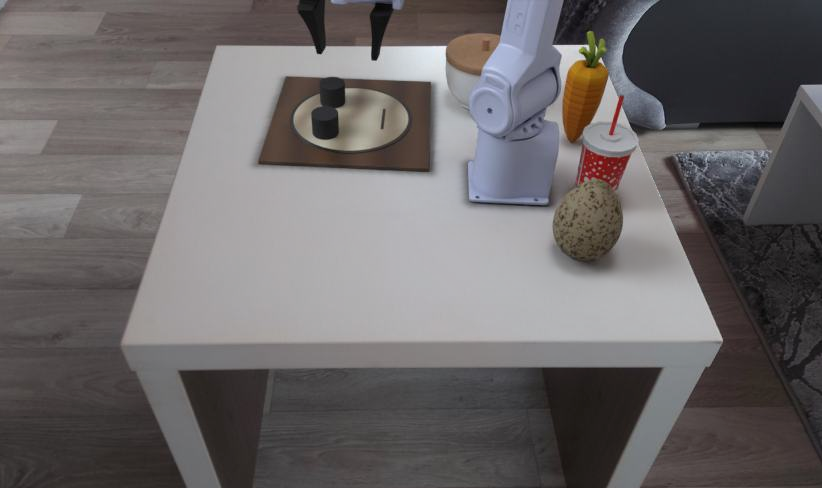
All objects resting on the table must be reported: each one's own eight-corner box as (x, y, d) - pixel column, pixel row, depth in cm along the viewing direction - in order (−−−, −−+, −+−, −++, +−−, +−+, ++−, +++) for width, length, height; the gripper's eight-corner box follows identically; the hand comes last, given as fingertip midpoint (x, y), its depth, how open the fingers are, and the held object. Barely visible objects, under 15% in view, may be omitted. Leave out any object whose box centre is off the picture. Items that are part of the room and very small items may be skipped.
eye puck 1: (347, 96, 101) (347, 77, 98) (342, 109, 98) (341, 90, 96) (323, 94, 101) (322, 75, 99) (317, 107, 99) (316, 88, 96)
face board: (430, 84, 104) (431, 80, 104) (428, 171, 88) (428, 167, 88) (286, 79, 105) (285, 75, 105) (258, 164, 90) (257, 159, 89)
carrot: (591, 155, 91) (620, 47, 80) (552, 151, 92) (576, 43, 81) (589, 134, 94) (617, 28, 84) (552, 130, 95) (575, 25, 85)
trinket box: (436, 115, 98) (441, 53, 91) (447, 78, 105) (453, 18, 99) (512, 124, 96) (523, 61, 90) (518, 86, 104) (529, 25, 97)
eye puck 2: (340, 125, 95) (339, 106, 93) (337, 140, 93) (336, 121, 90) (314, 124, 95) (313, 105, 93) (310, 139, 93) (309, 119, 91)
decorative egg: (621, 273, 75) (647, 201, 68) (556, 277, 75) (576, 205, 68) (599, 230, 80) (621, 158, 73) (538, 234, 80) (555, 162, 73)
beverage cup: (626, 212, 83) (661, 108, 73) (577, 217, 82) (606, 113, 72) (606, 181, 87) (636, 79, 77) (559, 186, 86) (584, 84, 76)
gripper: (278, -44, 83) (288, 61, 93) (396, -33, 81) (393, 74, 90) (297, -64, 88) (304, 38, 98) (409, -54, 85) (405, 49, 95)
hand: (348, 54), depth 94 cm, fingers open, 7 cm apart
